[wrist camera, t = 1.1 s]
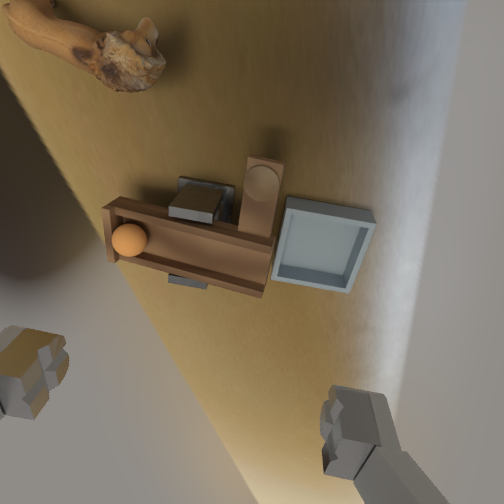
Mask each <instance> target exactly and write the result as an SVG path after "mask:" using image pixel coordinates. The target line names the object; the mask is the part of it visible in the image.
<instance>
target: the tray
mask: <svg viewBox="0 0 504 504" xmlns="http://www.w3.org/2000/svg"><path fill="white" fill-rule="evenodd" d="M376 225H377V223H376V221H375V219H374V216H373V214H372V212H371V211H368V210H363V209H357V208H351V207H346V206H340V205H335V204H329V203H323V202H318V201H312V200H306V199H301V198H295V197H290V196H287V199H286V204H285V208H284V213H283V218H282V222H281V227H280V231H279V236H278V240H277V245H276V250H275V254H274V259H273V263H272V273H271V280H277V281H282V282H288V283H293V284H299V285H304V286H310V287H315V288H321V289H326V290H332V291H337V292H343V293H350V291H351V288H352V286H353V283H354V280H355V278H356V275H357V273H358V270H359V268H360V265H361V263H362V260H363V258H364V255H365V253H366V250H367V248H368V245H369V243H370V240H371V238H372V235H373V233H374V230H375V228H376Z"/></svg>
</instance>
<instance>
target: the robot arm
mask: <svg viewBox="0 0 504 504" xmlns="http://www.w3.org/2000/svg"><path fill="white" fill-rule="evenodd" d="M65 344H66V342H65V338H64V336H62V335H58V334H53V333H48V332H43V331H39V330H34V329H29V328H24V327H19V326H14V325H11V326H9V327H7V328H5V329H4V330H3V331H2V332H1V333H0V419H2V418H3V417H4V415H8V416H14V417H20V418H27V419H33V420H34V419H35V418H36V417H37V415H38V414H39V412H40V411H41V409H42V408H43V406H44V405H45V404H46V403H47V401H48V400H49V391H50V390H51V389H53V388H55V387H57V386H58V385H59V384H60V383H61V381H62V380H63V378H64V377H65V375H66V372H67V370H68V367H69V356H68V353H67V352H66V351H65V350H64V349H63V347H64V346H65ZM328 396H329V399H328V400H326V401H324V403H323V406H322V409H321V415H320V434H321V436H322V437H323V439H324V440H325V444H324V446H323V448H322V460H323V471H324V474H325V475H329V476H334V477H339V478H343V479H348V480H352V481H354V482H353V483H354V485H355V487H356V488H357V490H358V492H359V494H360V495H361V497H362V499H363V501H364V503H365V504H450V503H449V502H448V501H447V499H446V498H445V497H444V496H443V495H442V493H441V492H440V491H439V490H438V489H437V487H436V486H435V485H434V484H433V483H432V481H431V480H430V479H429V478H428V477H427V475H426V474H425V473H424V472H423V471H422V469H421V468H420V467H419V466H418V465H417V463H416V462H415V461H414V460H413V459H412V458H411V456H410V455H409V454H408V453H407V452H405V451H401V447H400V444H399V440H398V437H397V433H396V430H395V426H394V423H393V419H392V416H391V412H390V409H389V405H388V402H387V398H386V397H385V395H384V394H381V393H375V392H370V391H365V390H361V389H355V388H349V387H343V386H337V385H332V386H331V387H330V389H329V391H328Z"/></svg>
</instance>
